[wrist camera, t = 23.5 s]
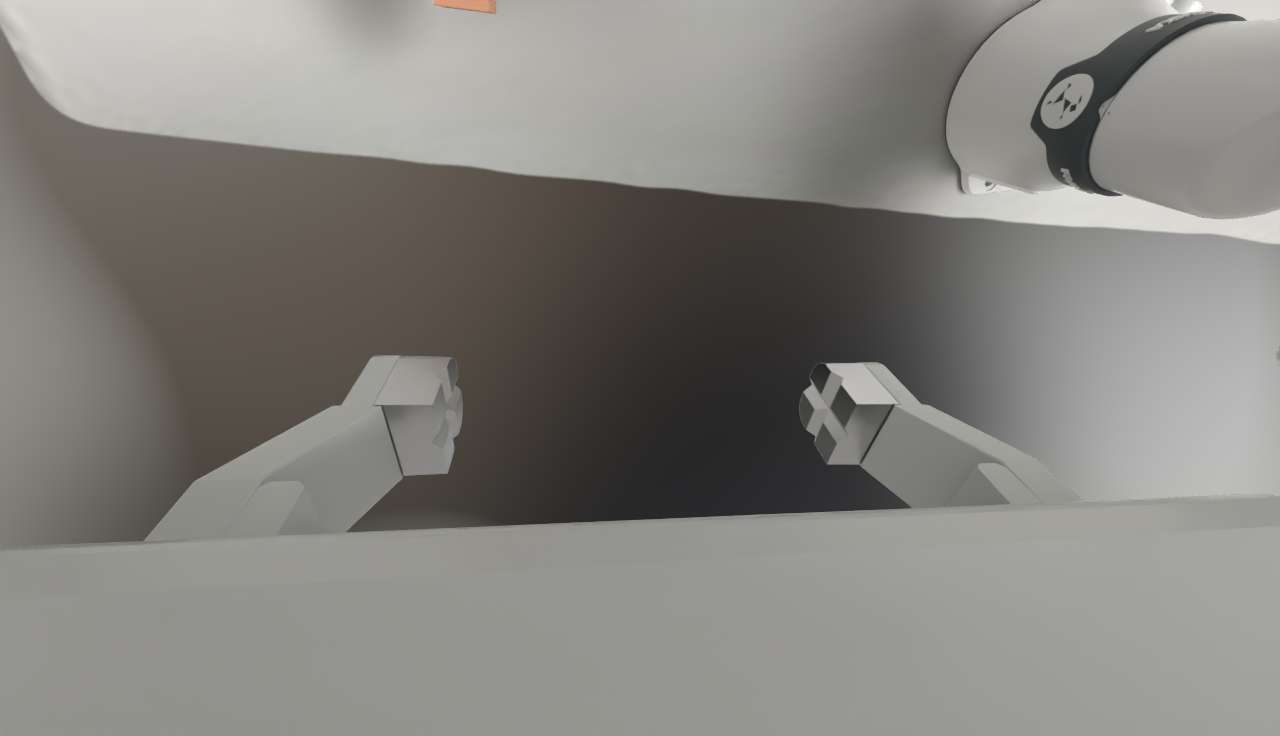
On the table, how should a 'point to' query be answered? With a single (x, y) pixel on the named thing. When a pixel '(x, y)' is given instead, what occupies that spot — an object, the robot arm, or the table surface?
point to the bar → (469, 5)
